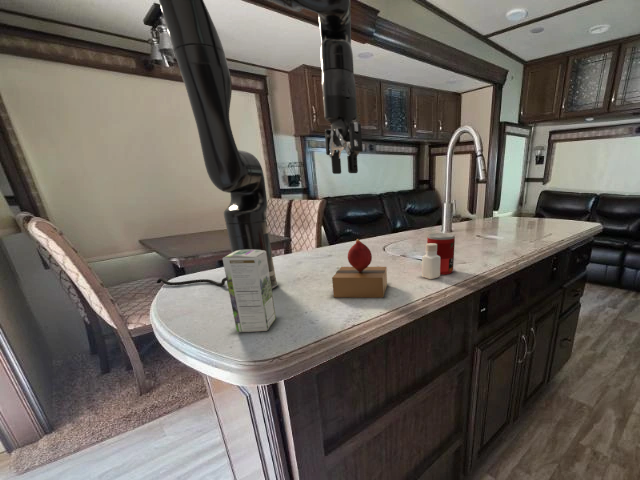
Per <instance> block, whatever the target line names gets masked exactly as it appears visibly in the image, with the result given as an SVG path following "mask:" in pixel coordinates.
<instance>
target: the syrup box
mask: <svg viewBox="0 0 640 480" xmlns="http://www.w3.org/2000/svg"><path fill="white" fill-rule="evenodd" d="M222 263H223V269H224V273H225V278H226V279H227V281H226V284H227V290H228V294H229V299H230V305H231V309H232V314H233V319H234V324H235V329H236V332H237V333H252V332H266V331H269V329H270V328H271V326H272V325H273V323H274V322H275V321H276V319H277V315H276V309H275V308H276V307H275V303H274V296H273V295H274V294H273V289H272V288H271V281H270V275H269V268H268V261H267V255H266V251H264V250H238V251H235V252H233V253H232V252H231V253H229V254H227V255H225V256H223V257H222Z"/></svg>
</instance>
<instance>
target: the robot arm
mask: <svg viewBox="0 0 640 480" xmlns="http://www.w3.org/2000/svg"><path fill="white" fill-rule="evenodd" d="M158 1H159V5H160V9H161V13H162V16H163V19H164V22H165V26H166V29H167V32H168V35H169V39H170V42H171V45H172V50H173V54H174V56H175V59H176V62H177V63H176V64H177V66H178V69H179V72H180V75H181V79H182V82H183V84H184V87H185V90H186V93H187V97H188V100H189V104H190V107H191V110H192V115H193V118H194V122H195V126H196V129H197V133H198V138H199V143H200V147H201V148H200V149H201V152H202V157H203V161H204V166H205V169H206V173H207V175H208V178H209V180H210V181H211V183H212V185H214V186H215V187H216V188H217V189H218V190H219V191H221V192H224V193H229V194H230V202H229V204H228V206H227V207H226V208H225V209H224V210H223V219H224V223H225V228H226V233H227V238H228V242H229V246H230V252H231V253H233V252H235V251H238V250H264V251H266V255H267V261H268V268H269V275H270V281H271V288H272V290H274V289H276V288H277V286H278V282H277V277H276V271H275V266H274V259H273V254H272V252H273V251H272V247H271V241H270V234H269V227H268V222H267V210H268V197H267V191H266V181H265V174H264V169H263V167H262V164H261V162H260V161H259V159H258V158H257V157H256V156H255V155H254V154H252V153H250V152H248V151H246V150H240V149H238V147H237V143H236V141H235V138H234V134H233V131H232V126H231V122H230V121H231V120H230V110H231V109H230V107H231V100H232V89H233V83H232V77H231V72H230V68H229V64H228V61H227V57H226V53H225V50H224V46H223V44H222V40H221V38H220V36H219V33H218V30H217V28H216V25H215V23H214V21H213V19H212V16H211V14H210V13H209V9H208V7H207V5H206V3H205V1H204V0H158ZM268 2H271V3H273V4H275V5H278V6H280V7H282V8H285V9H287V10H290V11H293V12H298V13H299V12H301V11H303V9H304V10H307V11H310V12H313V13H315V14H317V16H318V24H319V33H320V41H321V45H320V64H321V90H322V91H321V92H322V103H323V113H324V115H323V116H324V120H325V121H326V122H329V123H330V128H325V129H324V139H325V140H324V142H325V153H326V156H329V158H330V160H331V171H332V174H334V175H339V174H340V175H341V174H342V163H341V154H342V151H344V150H345V151H346V154H347V156H346V157H347V158H346V159H347V172H348V174H357V173H358V171H359V169H358V167H359V166H358V156H359V155H360V153H362V152H363V149H364V148H363V136H362V124H361V123H360V122H357V120H358V109H357V108H358V107H357V105H358V104H357V87H356V80H355V71H354V68H355V67H354V56H353V55H354V54H353V48H352V22H351V21H352V19H351V18H352V17H351V0H268ZM226 282H227V279H226V277H223V278H222V279H221V282H217V281H215V280H213V279H209V278H208V279H207V278H201V279H191V280H185V281H168V280H166V279H165V278H164V277H160V278H158V279H157V281H156V284H161V283H163V284H164V285H167V286H184V285H191V284H197V283H209V284H212V285H214V286H217V287H218V286H219V287H223V286H224V285H225V284H226Z"/></svg>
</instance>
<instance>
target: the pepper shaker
mask: <svg viewBox="0 0 640 480" xmlns="http://www.w3.org/2000/svg"><path fill="white" fill-rule="evenodd" d="M440 276H441V275H440V256H438V255H437V244H435V243H428V244H427V243H426V244H425V254H424V255H422V257H421V277H422V278H425V279H429V280H434V279H437V278H439V277H440Z"/></svg>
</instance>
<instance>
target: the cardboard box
mask: <svg viewBox="0 0 640 480" xmlns="http://www.w3.org/2000/svg"><path fill="white" fill-rule="evenodd" d="M387 267H388V266H368V267H367V268H365V269H364V270H363V271H361V272H359V271H357V270H356V269H355V268H354V267H353V266H341V267H340V268H339V269H338V270H337V271H336V272H335V274H334V275H333V276H332V277H331V281H332V283H331V284H332V293H333V298H351V299H352V298H353V299H355V298H359V299H360V298H361V299H363V298H367V299H368V298H371V299H372V298H374V299H377V298H378V299H381V298H382V299H383V298H384V296H385V293H386V290H387V286H388V273H387V271H388V269H387Z"/></svg>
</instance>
